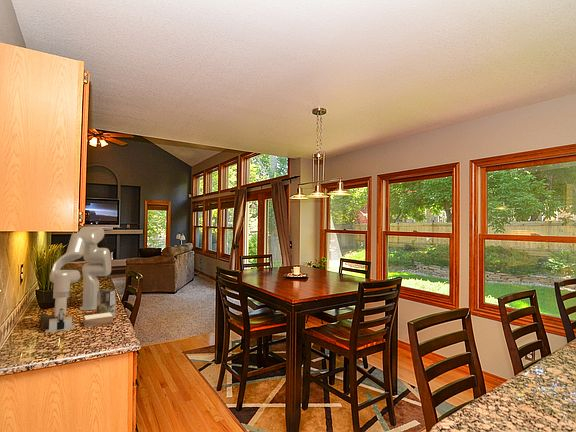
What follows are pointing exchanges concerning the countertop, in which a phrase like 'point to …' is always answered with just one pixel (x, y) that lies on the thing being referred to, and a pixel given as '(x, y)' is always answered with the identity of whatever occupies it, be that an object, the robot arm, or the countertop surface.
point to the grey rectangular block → (46, 320)
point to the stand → (97, 319)
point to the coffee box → (106, 302)
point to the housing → (53, 324)
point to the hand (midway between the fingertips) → (60, 327)
